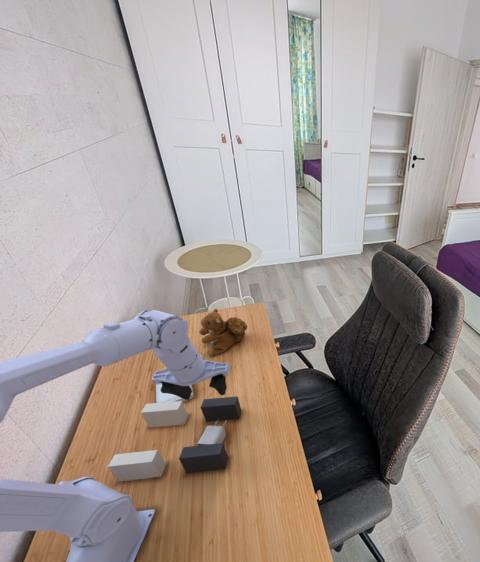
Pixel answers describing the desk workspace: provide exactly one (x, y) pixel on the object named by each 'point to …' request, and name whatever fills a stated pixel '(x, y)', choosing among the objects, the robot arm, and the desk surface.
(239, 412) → the grey cases
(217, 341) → the stuffed squirrel
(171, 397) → the hard drive
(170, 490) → the desk surface
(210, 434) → the usb wall charger
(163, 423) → the white cases
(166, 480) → the desk surface
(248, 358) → the desk surface
